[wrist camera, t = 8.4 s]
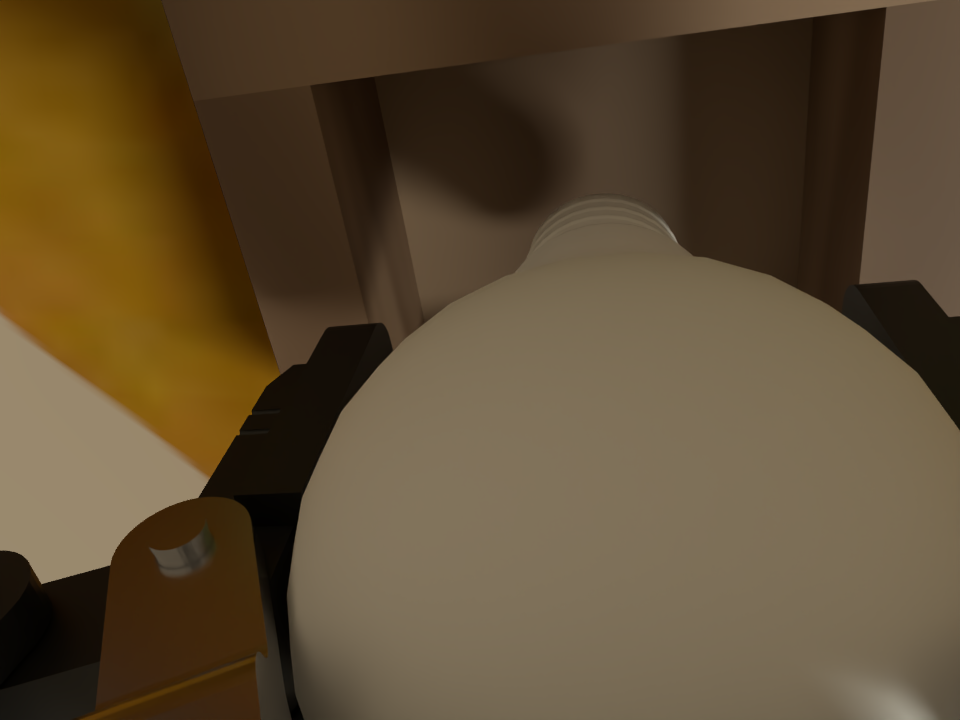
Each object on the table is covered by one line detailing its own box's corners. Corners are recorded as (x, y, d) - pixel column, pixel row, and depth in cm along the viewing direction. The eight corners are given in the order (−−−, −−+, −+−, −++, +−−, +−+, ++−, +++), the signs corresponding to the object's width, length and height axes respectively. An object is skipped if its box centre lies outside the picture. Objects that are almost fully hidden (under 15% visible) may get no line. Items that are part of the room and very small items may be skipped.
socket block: (912, -168, 13) (1075, -190, 9) (854, 397, 18) (936, 553, 14) (273, -60, 15) (150, -34, 11) (393, 425, 20) (343, 571, 16)
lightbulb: (856, 244, 14) (1474, 1044, 4) (594, 442, 16) (625, 1201, 7) (609, -25, 12) (748, 344, 3) (361, 247, 15) (-13, 910, 5)
